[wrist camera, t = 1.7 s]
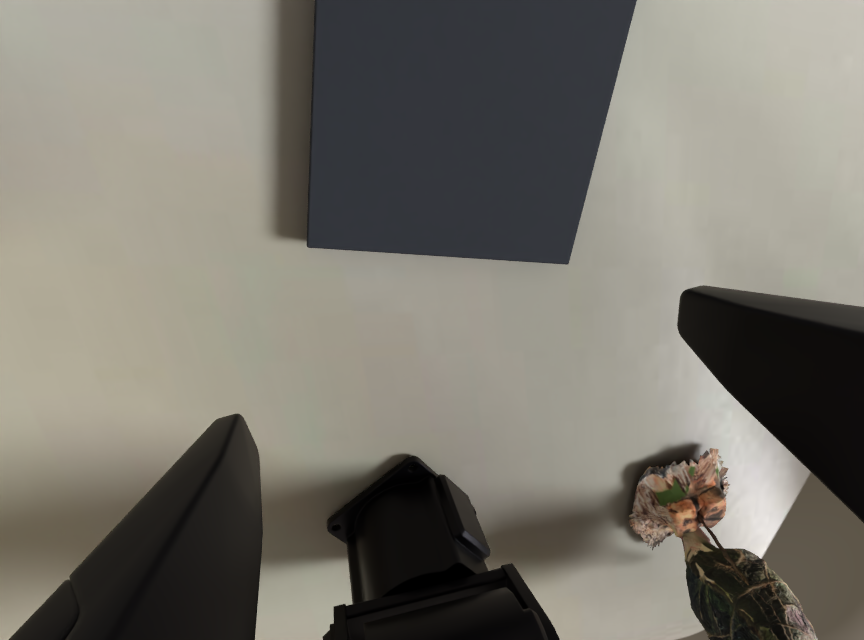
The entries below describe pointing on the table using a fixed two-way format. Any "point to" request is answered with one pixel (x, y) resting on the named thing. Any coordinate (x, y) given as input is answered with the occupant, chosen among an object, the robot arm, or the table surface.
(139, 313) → the table surface
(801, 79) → the table surface
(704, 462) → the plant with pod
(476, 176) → the desk pad
